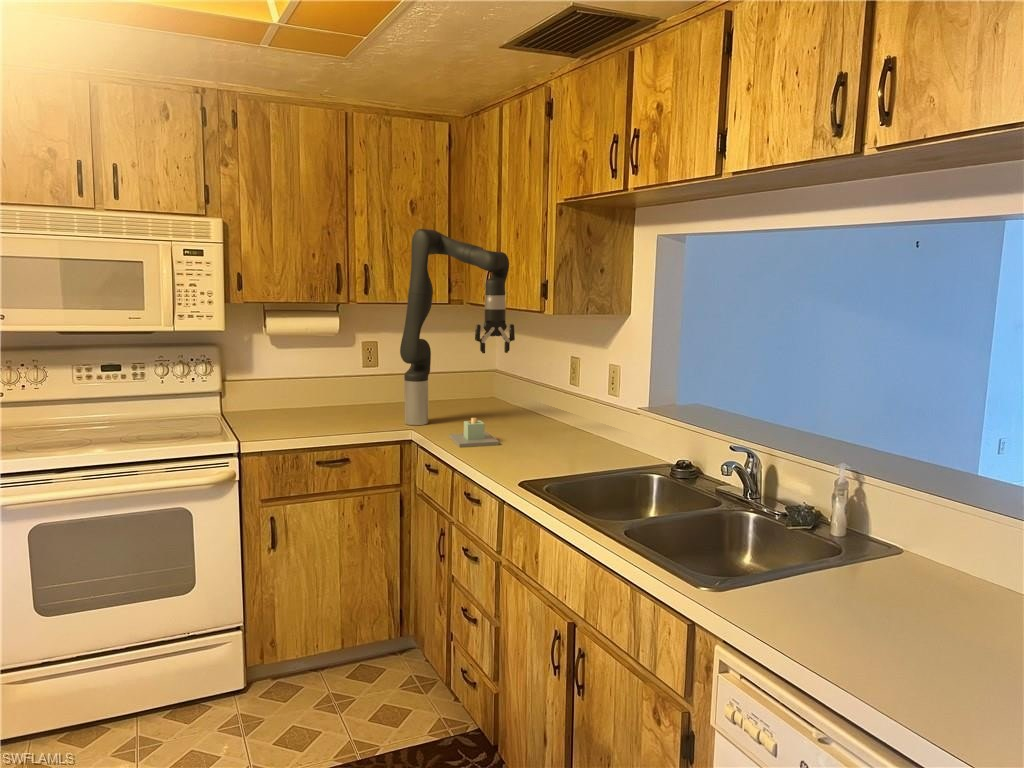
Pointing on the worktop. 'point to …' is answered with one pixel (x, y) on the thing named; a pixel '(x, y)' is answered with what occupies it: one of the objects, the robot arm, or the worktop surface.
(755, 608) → the worktop surface
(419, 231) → the robot arm
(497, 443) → the board
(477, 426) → the collar
